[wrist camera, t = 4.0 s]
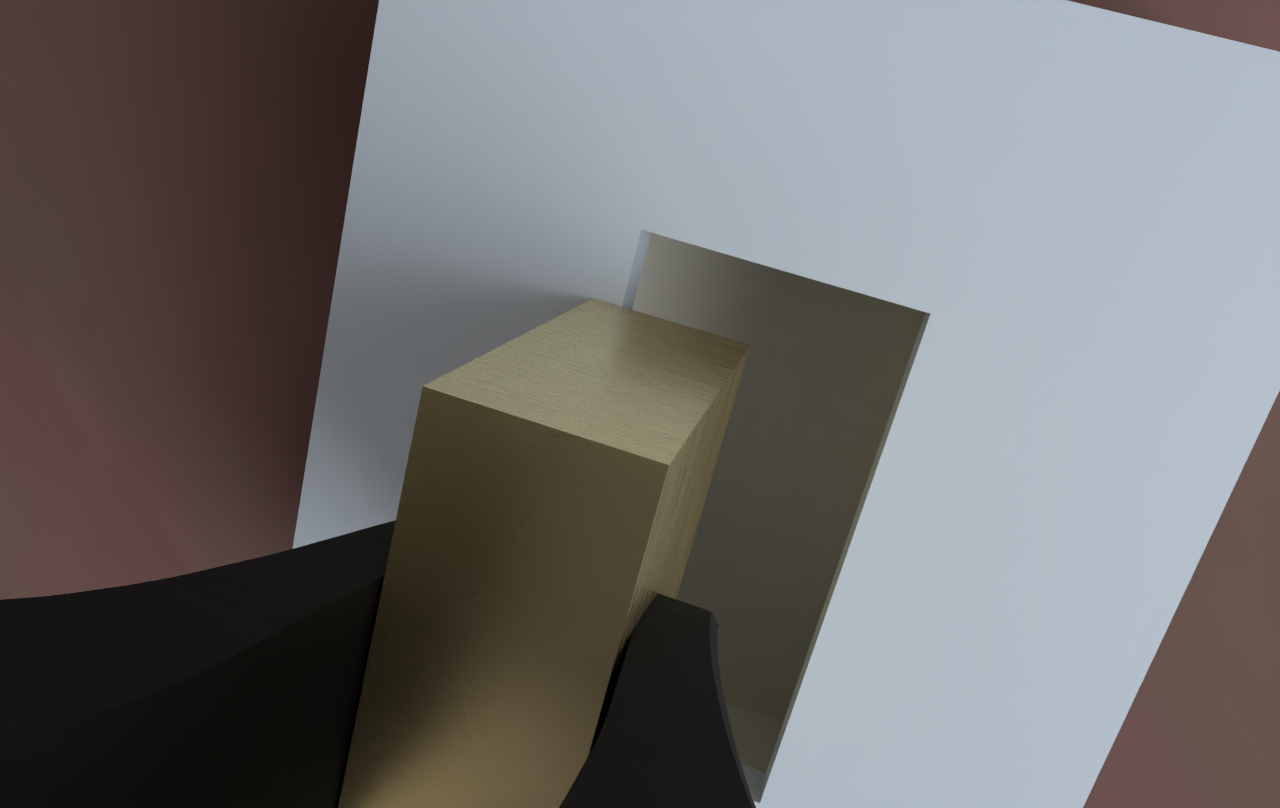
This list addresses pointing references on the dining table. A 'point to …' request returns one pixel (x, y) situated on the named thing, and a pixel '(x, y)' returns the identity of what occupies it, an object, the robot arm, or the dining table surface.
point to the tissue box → (853, 336)
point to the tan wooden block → (534, 554)
